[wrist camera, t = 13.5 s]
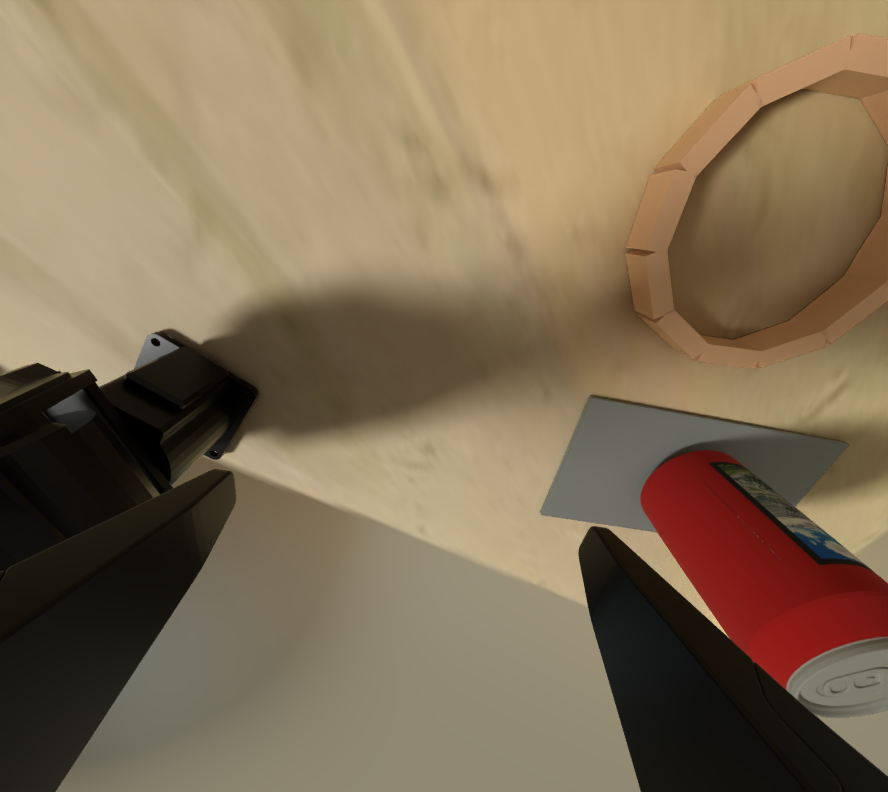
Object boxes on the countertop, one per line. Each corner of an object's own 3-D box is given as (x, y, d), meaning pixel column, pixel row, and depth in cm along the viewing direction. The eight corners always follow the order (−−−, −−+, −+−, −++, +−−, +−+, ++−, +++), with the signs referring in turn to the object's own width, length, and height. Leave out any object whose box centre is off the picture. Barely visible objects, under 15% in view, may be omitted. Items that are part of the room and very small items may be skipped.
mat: (540, 511, 26) (541, 514, 26) (590, 395, 22) (591, 397, 21) (756, 544, 28) (759, 547, 27) (844, 441, 23) (848, 444, 23)
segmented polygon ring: (719, 393, 22) (744, 408, 20) (576, 257, 18) (591, 260, 16) (957, 205, 17) (1018, 202, 15) (826, -28, 13) (884, -67, 12)
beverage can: (743, 494, 25) (968, 701, 14) (649, 529, 26) (788, 738, 16) (723, 426, 22) (980, 615, 12) (621, 469, 24) (763, 670, 13)
